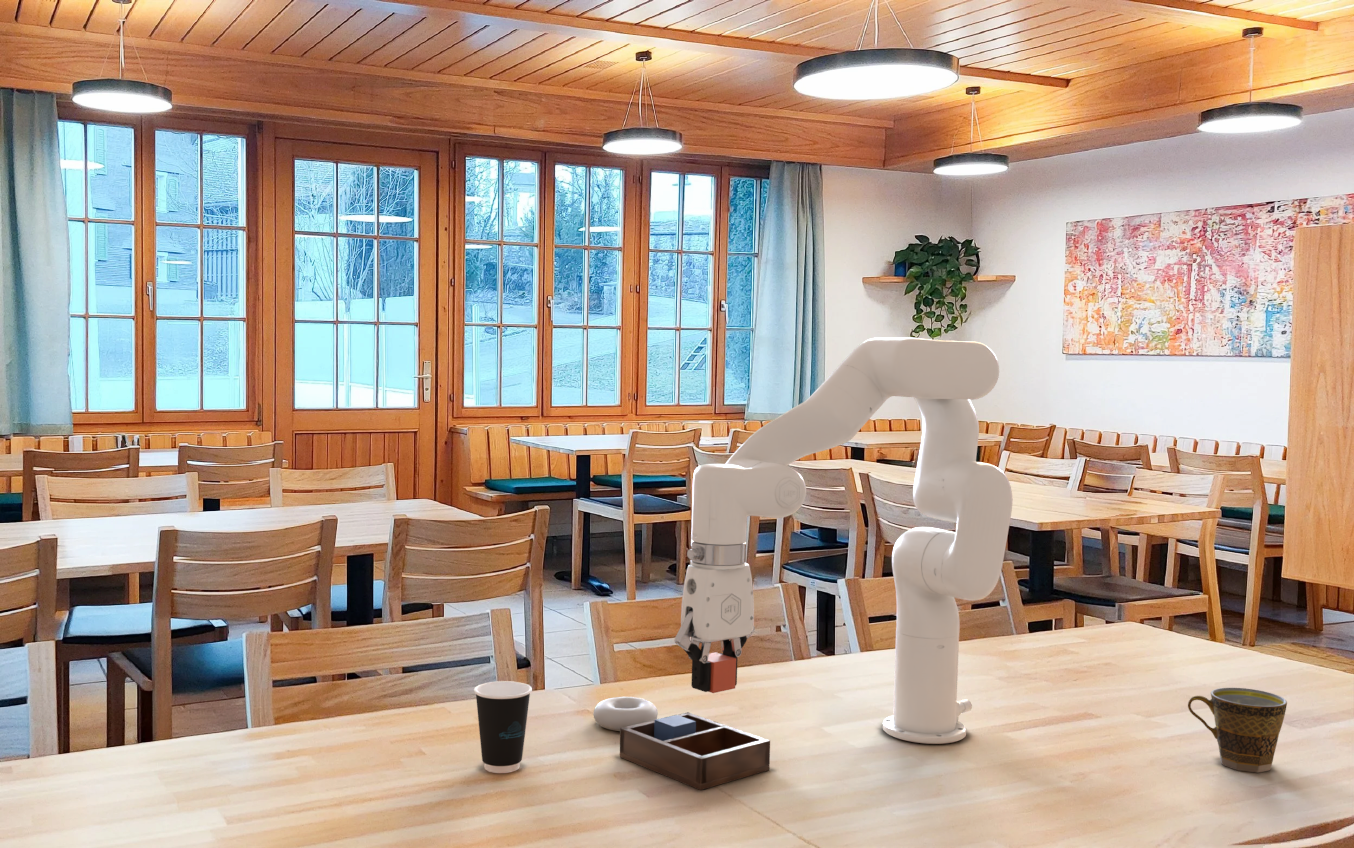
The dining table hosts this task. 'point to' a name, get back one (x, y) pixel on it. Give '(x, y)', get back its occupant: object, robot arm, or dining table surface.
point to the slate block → (673, 727)
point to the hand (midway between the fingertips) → (714, 685)
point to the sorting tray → (697, 752)
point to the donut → (624, 712)
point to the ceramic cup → (1245, 726)
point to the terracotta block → (722, 672)
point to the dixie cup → (502, 723)
